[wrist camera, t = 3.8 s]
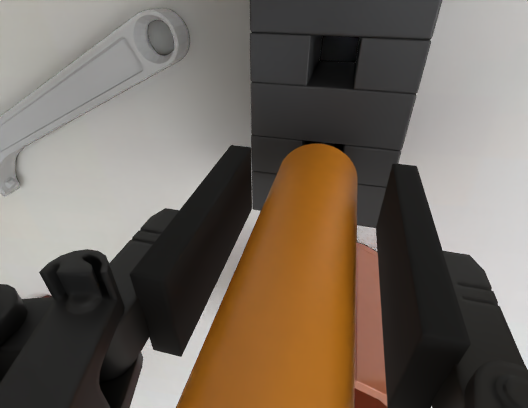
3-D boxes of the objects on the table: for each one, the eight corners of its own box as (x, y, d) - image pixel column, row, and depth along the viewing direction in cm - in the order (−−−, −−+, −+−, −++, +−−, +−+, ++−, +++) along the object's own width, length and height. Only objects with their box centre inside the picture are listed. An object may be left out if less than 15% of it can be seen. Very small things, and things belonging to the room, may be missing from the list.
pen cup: (285, 229, 23) (247, 354, 15) (409, 249, 21) (437, 400, 14) (280, 305, 27) (249, 430, 20) (382, 326, 26) (391, 471, 18)
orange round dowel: (304, 91, 17) (141, 413, 4) (363, 95, 17) (371, 479, 4) (300, 143, 19) (174, 486, 6) (353, 149, 18) (337, 540, 6)
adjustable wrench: (173, -6, 16) (155, -5, 15) (227, 114, 19) (217, 125, 18) (-75, 133, 26) (-100, 142, 25) (-14, 199, 29) (-34, 210, 27)
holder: (283, -167, 12) (246, -240, 8) (460, -181, 11) (516, -273, 7) (273, 164, 20) (252, 210, 16) (376, 176, 19) (380, 229, 15)
